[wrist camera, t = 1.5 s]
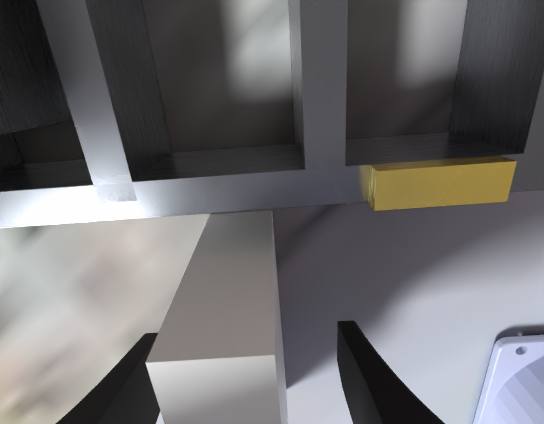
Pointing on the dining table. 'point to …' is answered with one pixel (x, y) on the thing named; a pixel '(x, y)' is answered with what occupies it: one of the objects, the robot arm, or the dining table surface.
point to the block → (224, 330)
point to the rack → (258, 159)
